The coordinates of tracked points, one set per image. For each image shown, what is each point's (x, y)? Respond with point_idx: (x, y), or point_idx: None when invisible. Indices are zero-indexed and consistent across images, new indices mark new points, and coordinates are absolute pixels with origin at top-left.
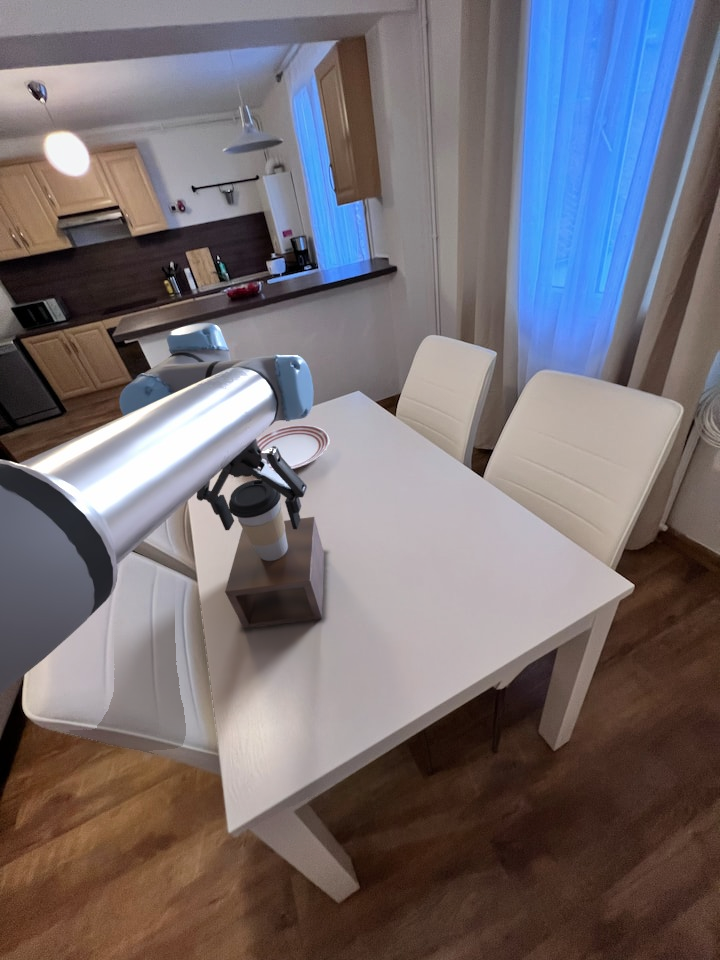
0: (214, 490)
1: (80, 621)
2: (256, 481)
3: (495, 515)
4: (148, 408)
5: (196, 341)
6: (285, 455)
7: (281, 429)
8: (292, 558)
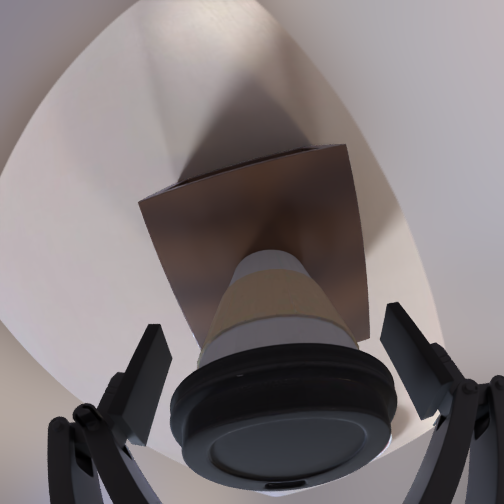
0: (461, 442)
1: None
2: (295, 485)
3: (49, 360)
4: None
5: None
6: None
7: None
8: (208, 262)
